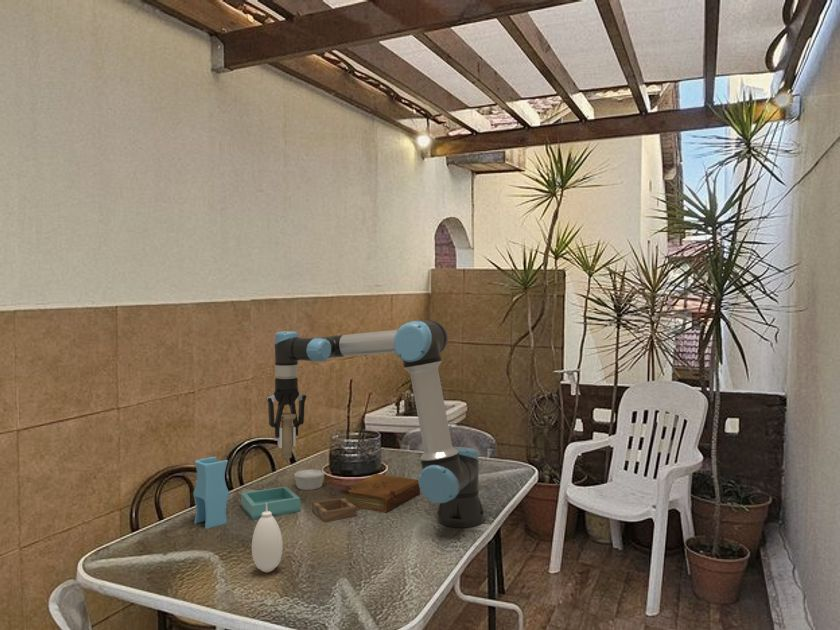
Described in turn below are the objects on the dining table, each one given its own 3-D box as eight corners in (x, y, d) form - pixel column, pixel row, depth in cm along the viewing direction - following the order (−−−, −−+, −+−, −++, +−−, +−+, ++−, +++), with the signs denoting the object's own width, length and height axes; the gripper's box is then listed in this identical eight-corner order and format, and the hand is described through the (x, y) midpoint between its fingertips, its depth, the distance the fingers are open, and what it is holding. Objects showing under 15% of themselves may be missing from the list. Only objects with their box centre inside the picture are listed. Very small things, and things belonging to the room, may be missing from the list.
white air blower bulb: (284, 575, 160) (282, 505, 160) (252, 579, 158) (251, 508, 158) (281, 563, 168) (280, 496, 167) (251, 566, 165) (250, 499, 165)
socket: (356, 516, 204) (356, 507, 204) (324, 522, 199) (324, 512, 199) (343, 505, 214) (342, 497, 214) (312, 511, 209) (312, 502, 209)
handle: (290, 460, 207) (290, 415, 207) (274, 459, 210) (274, 414, 209) (298, 457, 212) (298, 413, 211) (282, 455, 214) (282, 412, 214)
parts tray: (300, 511, 209) (300, 498, 209) (252, 519, 202) (252, 506, 201) (286, 498, 223) (286, 486, 223) (241, 506, 216) (240, 493, 216)
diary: (386, 514, 207) (385, 497, 207) (340, 506, 216) (340, 490, 216) (420, 495, 227) (419, 479, 227) (376, 488, 236) (376, 473, 236)
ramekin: (330, 485, 239) (330, 471, 239) (310, 493, 230) (310, 478, 230) (308, 481, 246) (308, 467, 245) (288, 488, 236) (288, 474, 236)
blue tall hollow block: (229, 522, 200) (228, 460, 199) (206, 529, 194) (205, 465, 193) (216, 516, 205) (215, 456, 205) (193, 523, 199) (192, 460, 199)
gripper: (307, 374, 217) (307, 441, 218) (258, 377, 209) (258, 446, 210) (314, 377, 211) (314, 445, 211) (264, 380, 203) (264, 451, 203)
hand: (286, 446), depth 211 cm, fingers closed on handle, 4 cm apart
